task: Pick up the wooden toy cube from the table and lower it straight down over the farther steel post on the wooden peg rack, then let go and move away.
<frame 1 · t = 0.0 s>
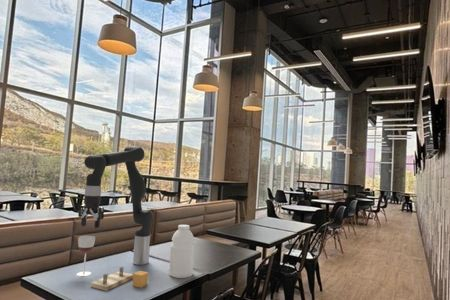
hand: (90, 226, 155), 29 cm above the table, tool pointing down, fingers open, 8 cm apart
wineglass: (83, 274, 170), on the table
wooden peg rack: (113, 282, 160), on the table
bottle: (180, 274, 178), on the table
wooden toy cube: (139, 284, 159), on the table
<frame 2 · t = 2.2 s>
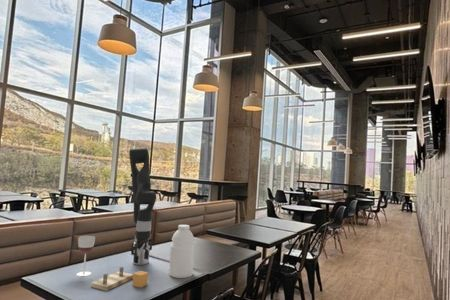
hand: (141, 261, 159), 12 cm above the table, tool pointing down, fingers open, 8 cm apart
nothing on the table moved.
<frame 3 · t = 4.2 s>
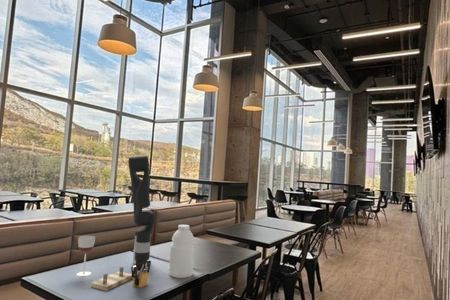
hand: (140, 283, 159), 1 cm above the table, tool pointing down, fingers closed on wooden toy cube, 5 cm apart
wooden toy cube: (140, 284, 159), on the table, touching gripper
everything else where it was.
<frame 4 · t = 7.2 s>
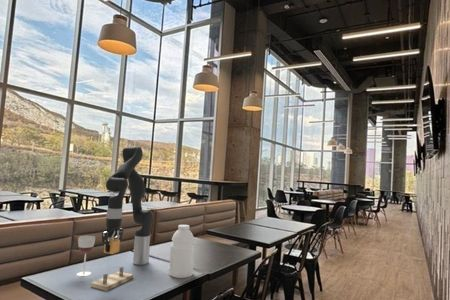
hand: (111, 250, 156), 18 cm above the table, tool pointing down, fingers closed on wooden toy cube, 5 cm apart
wooden toy cube: (111, 252, 156), point 17 cm above the table, touching gripper
everything else where it was.
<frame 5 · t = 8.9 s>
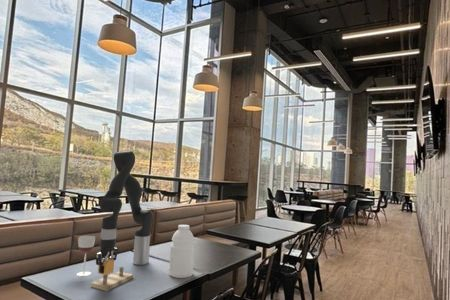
hand: (105, 271, 155), 7 cm above the table, tool pointing down, fingers closed on wooden toy cube, 5 cm apart
wooden toy cube: (105, 272, 155), point 7 cm above the table, touching gripper
everything else where it was.
when the fingers open (4 cm above the table, at t = 10.4 s): wooden toy cube drops 1 cm, resting on wooden peg rack.
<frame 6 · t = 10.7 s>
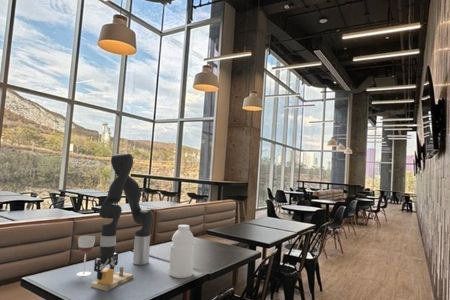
hand: (105, 276, 155), 5 cm above the table, tool pointing down, fingers open, 8 cm apart
wooden toy cube: (105, 282, 155), point 2 cm above the table, touching wooden peg rack
everything else where it was.
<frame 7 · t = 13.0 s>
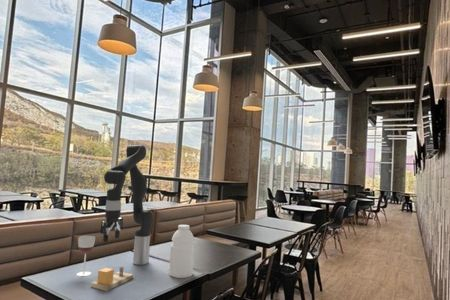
hand: (111, 239, 161), 22 cm above the table, tool pointing down, fingers open, 8 cm apart
nothing on the table moved.
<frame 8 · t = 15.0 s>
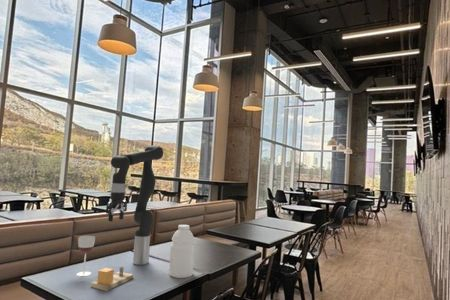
hand: (115, 220, 173), 30 cm above the table, tool pointing down, fingers open, 8 cm apart
nothing on the table moved.
at the end: wooden toy cube 0.1 cm from the target spot on the wooden peg rack, point 2.0 cm above the wooden peg rack's base; wooden toy cube tilted 0°; the gripper is holding nothing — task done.
